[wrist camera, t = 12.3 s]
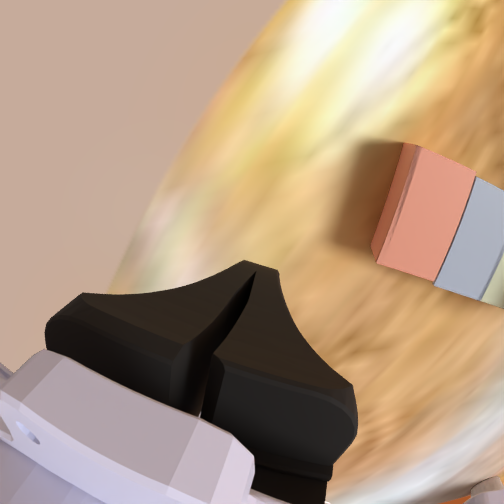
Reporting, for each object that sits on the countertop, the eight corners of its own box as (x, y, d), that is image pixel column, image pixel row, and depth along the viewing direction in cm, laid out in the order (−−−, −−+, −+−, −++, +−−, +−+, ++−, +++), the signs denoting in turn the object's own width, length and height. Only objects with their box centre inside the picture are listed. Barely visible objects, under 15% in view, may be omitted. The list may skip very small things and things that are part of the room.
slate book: (465, 280, 19) (480, 301, 17) (421, 265, 20) (433, 285, 17) (501, 191, 16) (523, 201, 14) (457, 169, 17) (476, 176, 14)
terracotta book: (403, 142, 17) (416, 145, 14) (456, 165, 17) (476, 171, 14) (369, 244, 20) (376, 263, 17) (421, 261, 20) (433, 281, 17)
